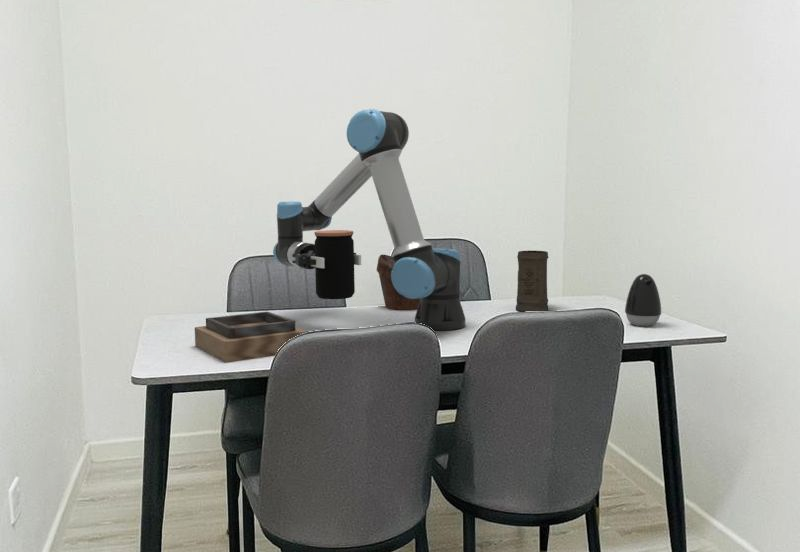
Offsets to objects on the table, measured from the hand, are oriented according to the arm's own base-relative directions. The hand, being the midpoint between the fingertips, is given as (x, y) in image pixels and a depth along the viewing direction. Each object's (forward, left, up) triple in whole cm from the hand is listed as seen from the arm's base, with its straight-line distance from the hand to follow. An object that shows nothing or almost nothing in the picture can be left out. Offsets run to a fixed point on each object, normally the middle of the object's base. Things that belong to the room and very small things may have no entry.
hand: (341, 261), depth 204 cm
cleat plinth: (+16, +20, -21) cm, 33 cm away
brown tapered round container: (+10, -54, -22) cm, 59 cm away
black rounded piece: (-68, -57, -22) cm, 92 cm away
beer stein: (-30, -69, -22) cm, 78 cm away
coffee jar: (+4, -2, -10) cm, 11 cm away
